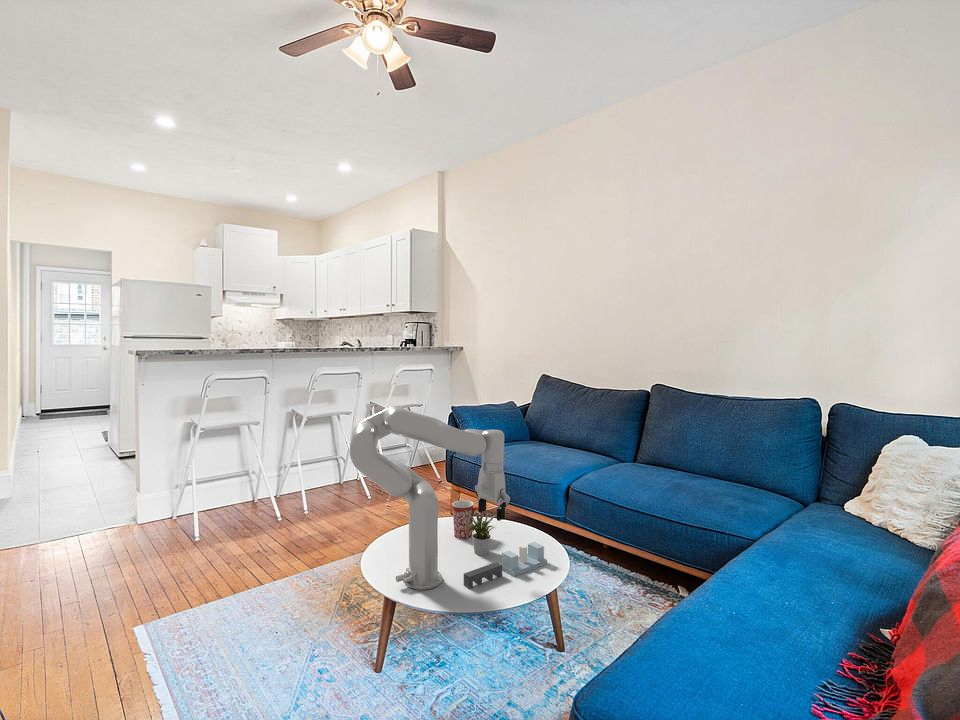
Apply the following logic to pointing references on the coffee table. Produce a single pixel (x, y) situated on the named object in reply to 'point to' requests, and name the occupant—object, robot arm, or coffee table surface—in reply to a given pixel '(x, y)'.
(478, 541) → the house plant
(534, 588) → the coffee table surface
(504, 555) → the display stand
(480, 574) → the dark grey bar
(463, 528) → the mug
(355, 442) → the robot arm
